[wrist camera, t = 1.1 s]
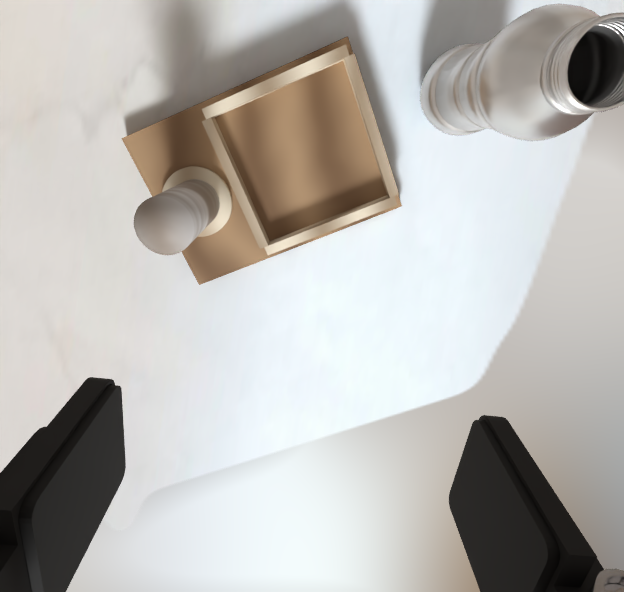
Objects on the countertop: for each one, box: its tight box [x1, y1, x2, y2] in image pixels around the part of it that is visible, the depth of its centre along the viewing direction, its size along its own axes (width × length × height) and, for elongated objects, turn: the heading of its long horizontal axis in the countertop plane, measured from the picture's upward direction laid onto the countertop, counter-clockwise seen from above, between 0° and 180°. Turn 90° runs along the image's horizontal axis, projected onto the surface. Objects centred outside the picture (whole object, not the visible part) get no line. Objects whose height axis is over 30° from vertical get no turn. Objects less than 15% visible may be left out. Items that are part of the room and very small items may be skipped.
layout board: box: [122, 37, 402, 285], centre depth 33 cm, size 20×14×11 cm
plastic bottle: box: [420, 4, 624, 141], centre depth 27 cm, size 6×7×20 cm
